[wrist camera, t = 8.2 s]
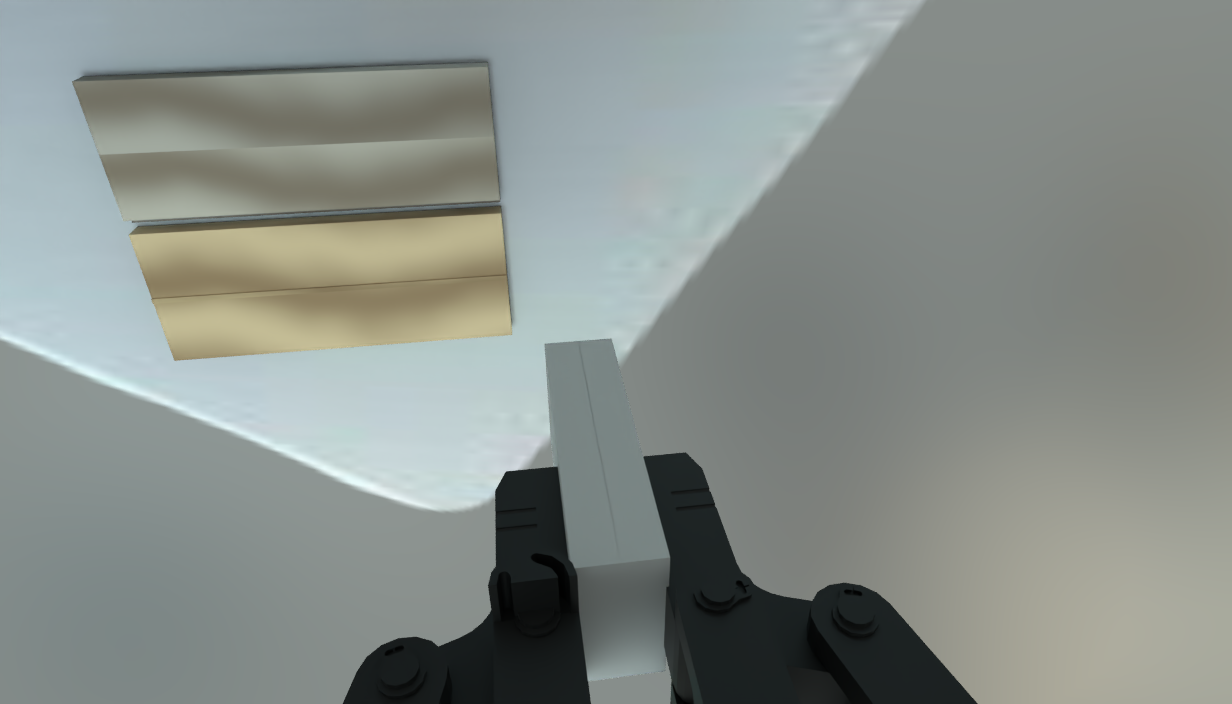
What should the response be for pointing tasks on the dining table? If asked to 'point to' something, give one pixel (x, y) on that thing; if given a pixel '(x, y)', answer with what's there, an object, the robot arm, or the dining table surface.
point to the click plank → (326, 281)
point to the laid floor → (293, 139)
